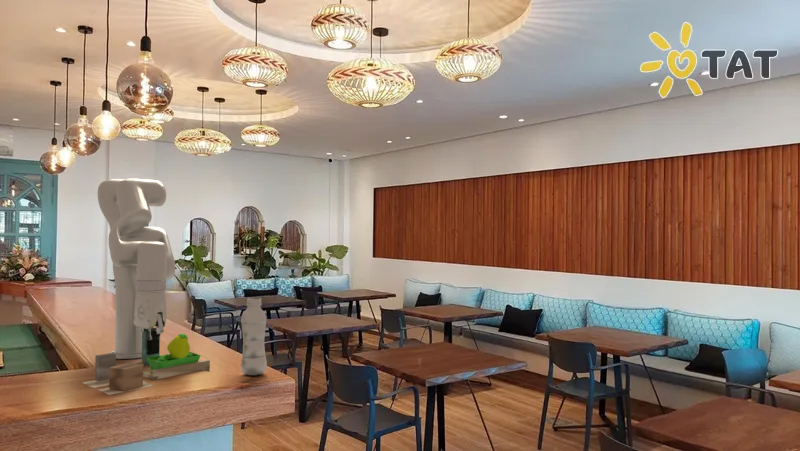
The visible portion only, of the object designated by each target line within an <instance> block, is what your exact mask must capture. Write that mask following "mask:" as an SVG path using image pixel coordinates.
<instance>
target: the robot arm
mask: <svg viewBox="0 0 800 451" xmlns="http://www.w3.org/2000/svg"><path fill="white" fill-rule="evenodd" d="M166 200H167V191H166V187H165V185H164V184H163V182H162V181H160V180H155V179H141V178H126V179H123V178H112V179H106V180H104V181H102V182H100V184H99V185H98V188H97V201H98V202H97V203H98V205H99V209H100V210H101V213H102V215H103V217H104V218H105V220H106V221H107V223H108V226H109V234H108V248H109V254H110V258H111V262H112V272H113V277H114V285H115V287H114V288H115V290H114V291H115V322H114V323H115V324H114V325H115V330H114V336H115V337H114V345H115V346H114V350H112V351H110V352H109V353H115V354H116V360H117V359H118V360H128V359H129V360H131V359H133V360H134V359H140V358H141V359H142V331H145V330H149V340H147V354H148V355H152V354H158V353H159V339H160V340H161V334H163V333H164V332H165V330H164V328H165V327H166V325H167V300H166V299H167V298H166V293H167V281H168V280H171V279H173V277H174V275H175V273H176V262H175V257H174V254H173V250H172V246H171V243H170V239H169V236H168V234H167V232H166V230H165V229H163V228H162V227H158V226H147V225H149V224H150V223H151V221H152V211H151V207H162V206H163V205H164V204H165V202H166ZM155 330H156V331H155ZM152 331H153V333H152ZM159 354H160V353H159Z"/></svg>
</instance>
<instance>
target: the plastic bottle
mask: <svg viewBox="0 0 800 451" xmlns="http://www.w3.org/2000/svg"><path fill="white" fill-rule="evenodd" d="M245 305H246V306H247V307H246V309H245V310H244V311H243V313H242V315H241V316H240V317H241V318H240V322H241V331H242V339H243V340H242V342H243V345H242V355H241V356H242V357H241V360H240V361H241V362H240V369H241V372H242V375H247V376H253V377H254V376H259V375H262V374H265V372H266V370H267V367H268V366H267V365H268V363H267V356H266V351H265V348H266V347H265V338H266V337H265V335H266V326H267V319H268V318H267V315H266V314H265V312H264V311H263V309H262V307H261V306H262V305H263V304H262V298H260V297H249V298H247V299H246V304H245Z"/></svg>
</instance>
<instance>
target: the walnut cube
mask: <svg viewBox="0 0 800 451" xmlns="http://www.w3.org/2000/svg"><path fill="white" fill-rule="evenodd" d="M134 363H135V362H134ZM134 363H133V362H125V363H122V364H121V363H120V364H116V366H113V367H109V385H108V388H109V389H112V390H117V391H123V392H122V393H125V391H126V392H129V390H131V391H133V390H132V389H135V388H139V387H142V386H143V382H144V376H143V371H144V365H141V364H134Z"/></svg>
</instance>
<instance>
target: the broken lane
mask: <svg viewBox="0 0 800 451" xmlns="http://www.w3.org/2000/svg"><path fill="white" fill-rule="evenodd" d="M94 357H95V358H94V360H95V362H94V363H95V364H94V366H95V369H94V371H95V372H94V379H93V380H89V381H85V382H84V381H83V382H82V384H83V385H86V386H88V387H90V388H93V389H95V388H97V389H98V388H101V387H105V388H101V389H98V391H99V392H101V393H103V394H106V395H108V396H111V395H115V394H116V395H117V394H120V393H125V392H127V391H125V392H123V391H117V390H112V389H109V387H107V386H109V367H113V366H117V359H116V354H115V353H110V352H109V353H103V354H96V355H95V356H94ZM153 386H154V384H150V383H148V382H145V381H143V386H142V387H139V388H135V389H132V390H129V391H134V390H139V389H144V388H149V387H153ZM129 391H128V392H129Z"/></svg>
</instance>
